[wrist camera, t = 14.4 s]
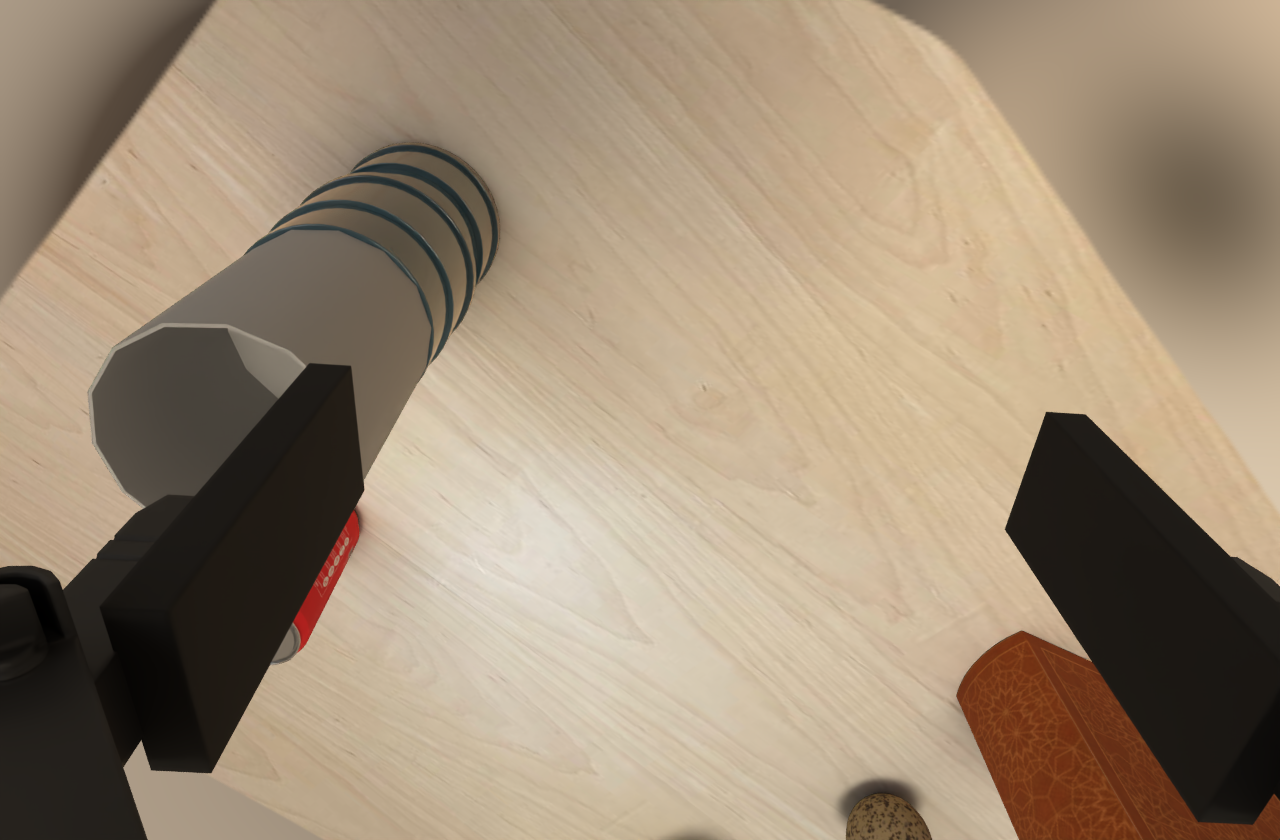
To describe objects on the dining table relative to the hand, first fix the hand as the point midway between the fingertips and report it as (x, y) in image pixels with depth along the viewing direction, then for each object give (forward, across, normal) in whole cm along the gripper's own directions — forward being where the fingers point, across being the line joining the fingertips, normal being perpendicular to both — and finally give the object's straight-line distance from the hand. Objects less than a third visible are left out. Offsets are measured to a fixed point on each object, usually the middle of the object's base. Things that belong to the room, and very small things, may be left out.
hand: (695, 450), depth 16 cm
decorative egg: (+35, +24, -56) cm, 70 cm away
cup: (+19, -14, -6) cm, 24 cm away
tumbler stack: (+35, -14, -6) cm, 38 cm away
